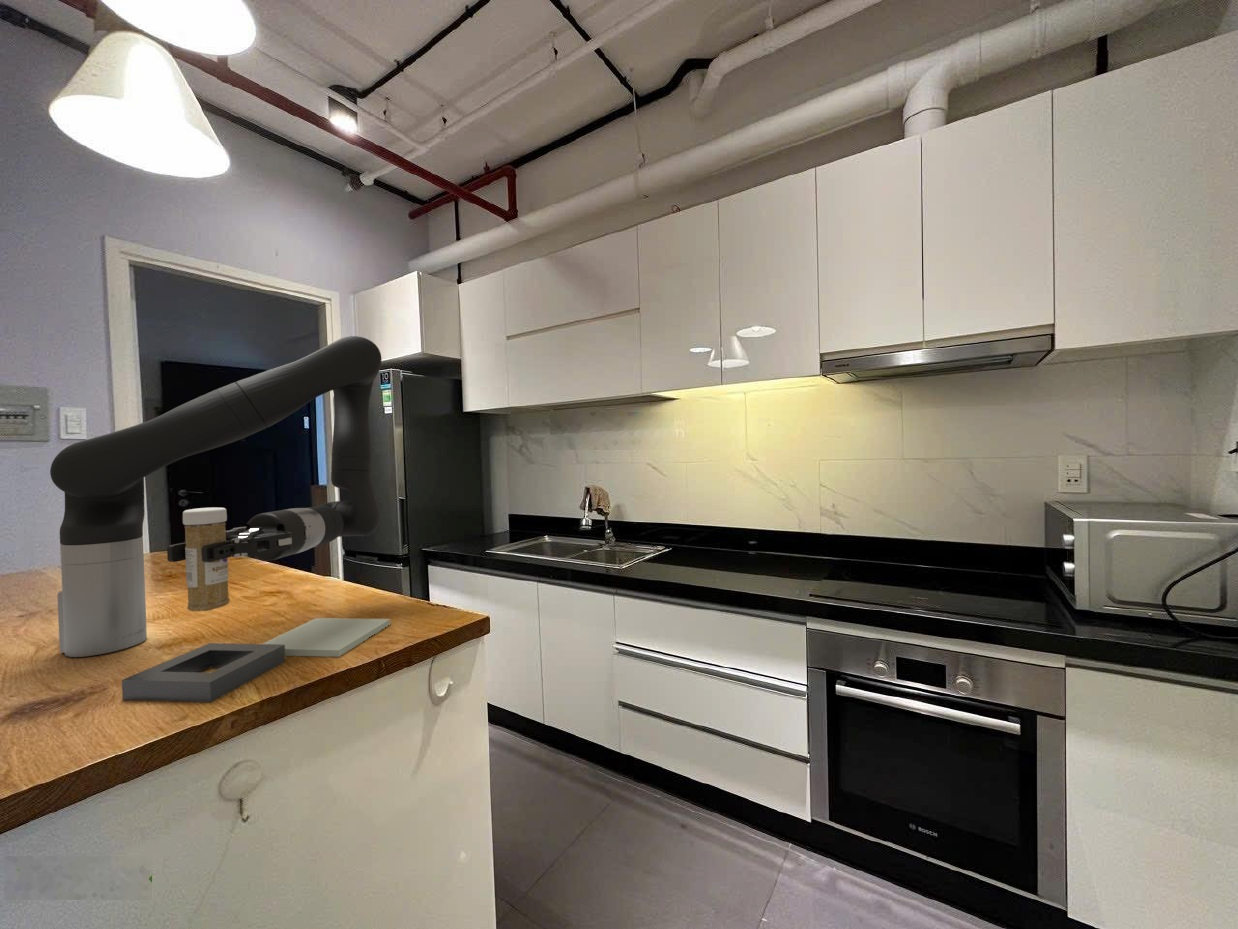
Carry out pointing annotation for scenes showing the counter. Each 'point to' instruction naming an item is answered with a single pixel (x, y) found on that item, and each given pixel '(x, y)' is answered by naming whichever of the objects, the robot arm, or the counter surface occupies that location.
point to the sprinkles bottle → (205, 577)
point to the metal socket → (189, 685)
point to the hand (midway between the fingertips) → (187, 554)
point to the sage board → (328, 636)
